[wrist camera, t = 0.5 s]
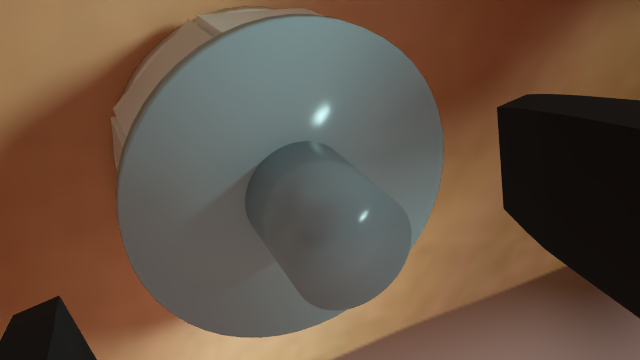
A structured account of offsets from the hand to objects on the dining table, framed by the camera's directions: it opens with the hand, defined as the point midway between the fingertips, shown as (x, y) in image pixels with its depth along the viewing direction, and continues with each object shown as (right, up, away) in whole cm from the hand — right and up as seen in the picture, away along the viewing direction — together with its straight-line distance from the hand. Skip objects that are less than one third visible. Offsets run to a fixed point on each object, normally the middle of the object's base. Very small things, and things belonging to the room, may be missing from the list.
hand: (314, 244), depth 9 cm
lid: (-1, +1, +7) cm, 7 cm away
